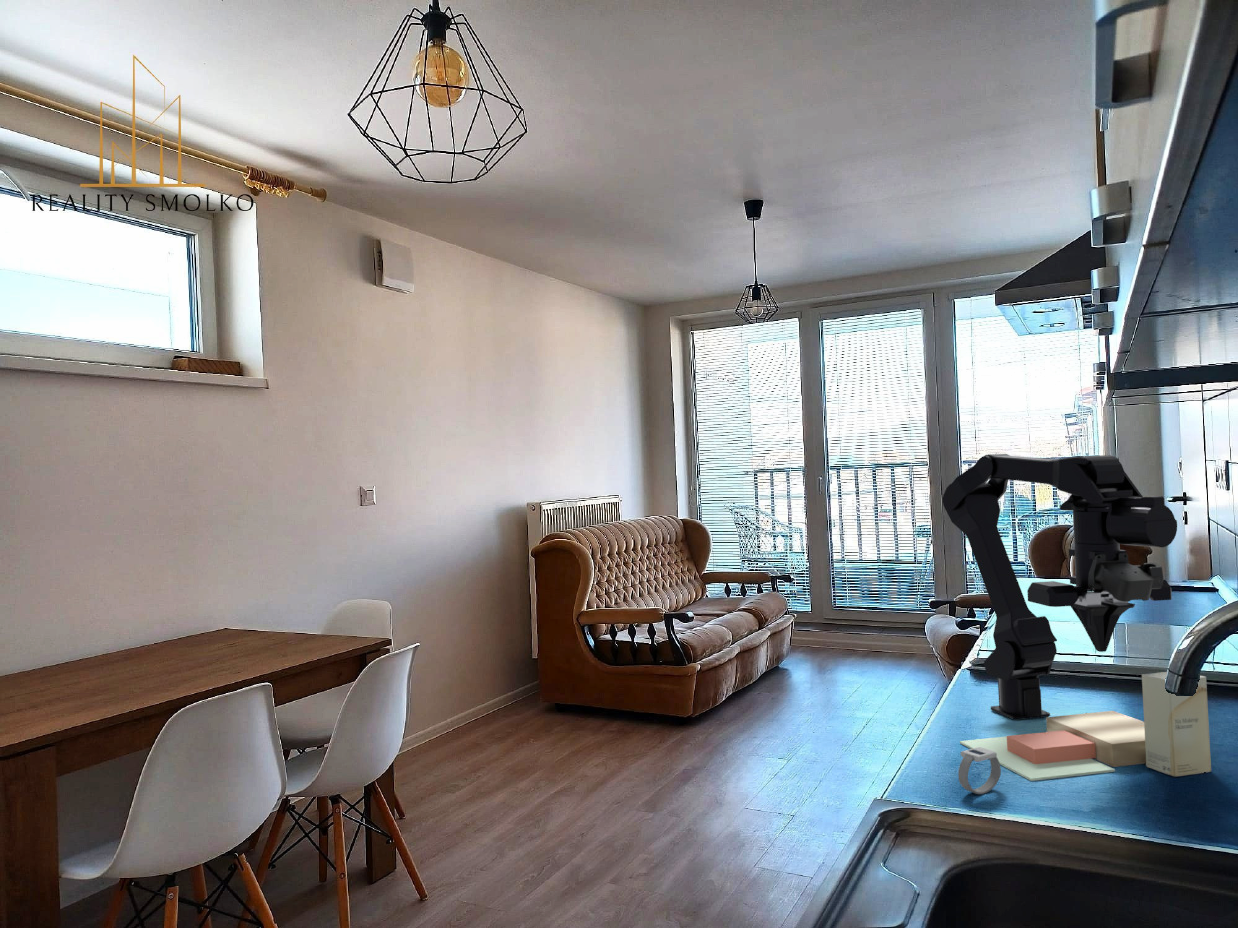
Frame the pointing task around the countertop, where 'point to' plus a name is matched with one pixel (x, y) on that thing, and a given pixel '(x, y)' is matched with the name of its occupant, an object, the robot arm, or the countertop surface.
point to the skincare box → (1175, 728)
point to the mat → (1037, 770)
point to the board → (1106, 735)
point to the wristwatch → (977, 756)
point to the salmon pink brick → (1051, 747)
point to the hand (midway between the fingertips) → (1101, 651)
